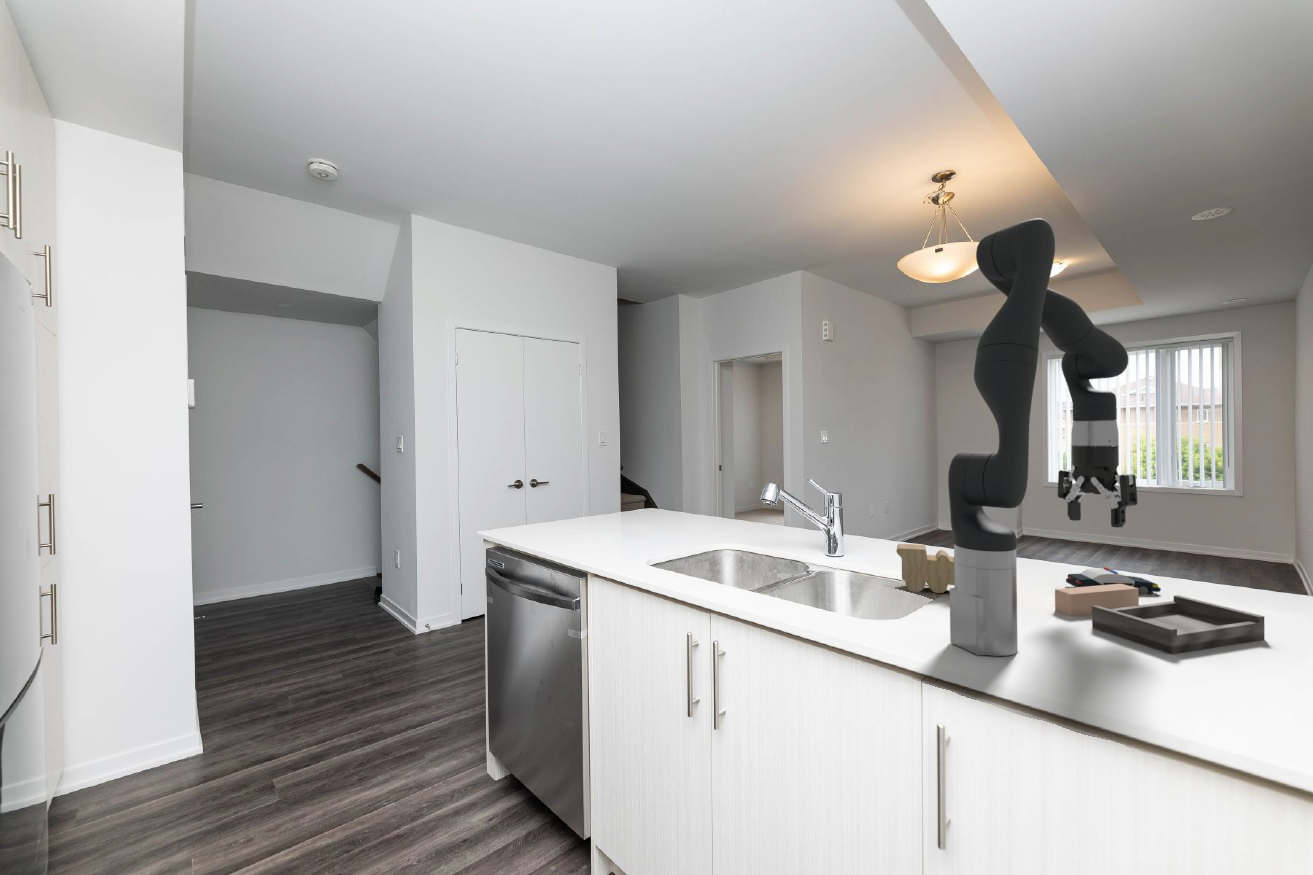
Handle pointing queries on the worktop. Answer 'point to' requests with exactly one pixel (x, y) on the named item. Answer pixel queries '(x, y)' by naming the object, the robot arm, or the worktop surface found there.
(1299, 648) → the worktop surface
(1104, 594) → the tan rectangular block
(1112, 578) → the toy car
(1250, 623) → the charcoal tray
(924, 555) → the toy train
